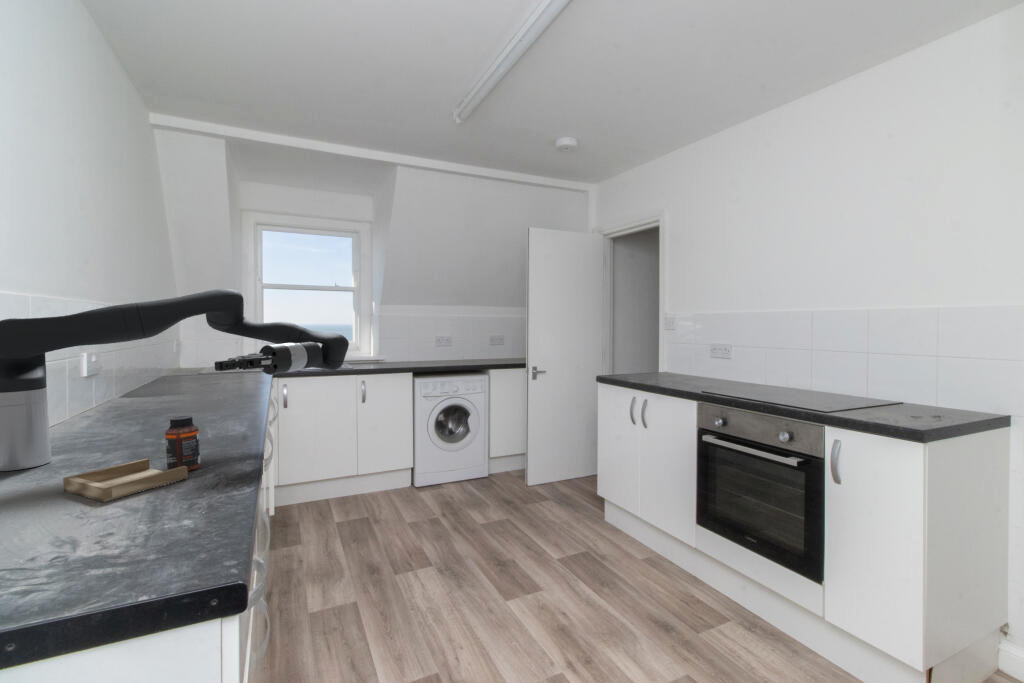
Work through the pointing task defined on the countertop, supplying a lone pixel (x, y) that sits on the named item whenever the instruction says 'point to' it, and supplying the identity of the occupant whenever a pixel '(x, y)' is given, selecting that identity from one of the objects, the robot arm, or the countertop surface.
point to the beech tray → (121, 480)
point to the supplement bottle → (182, 443)
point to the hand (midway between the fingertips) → (216, 366)
